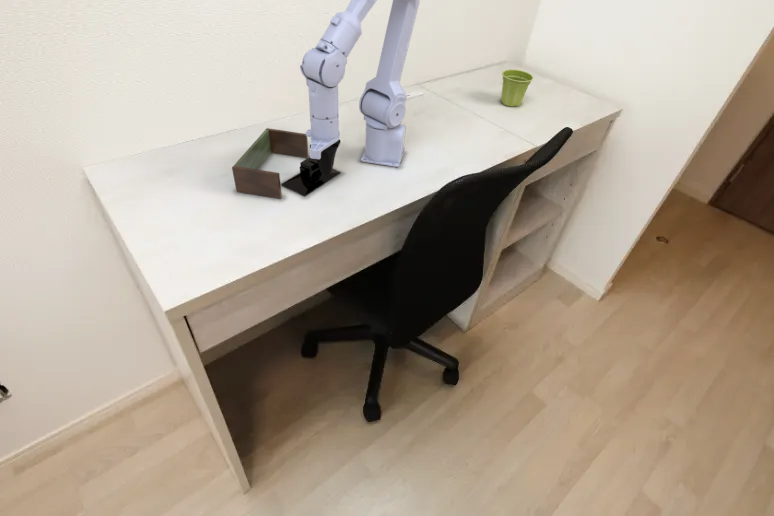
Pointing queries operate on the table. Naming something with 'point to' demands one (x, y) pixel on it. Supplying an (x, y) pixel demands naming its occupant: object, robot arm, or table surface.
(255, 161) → the stall
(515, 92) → the plant pot
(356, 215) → the table surface
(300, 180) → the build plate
